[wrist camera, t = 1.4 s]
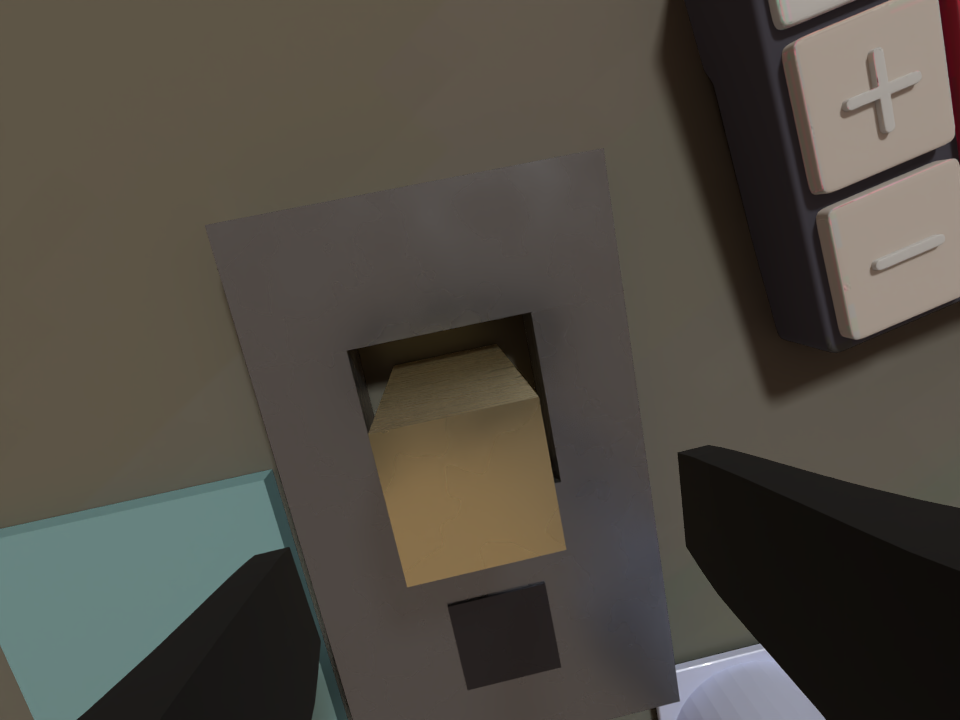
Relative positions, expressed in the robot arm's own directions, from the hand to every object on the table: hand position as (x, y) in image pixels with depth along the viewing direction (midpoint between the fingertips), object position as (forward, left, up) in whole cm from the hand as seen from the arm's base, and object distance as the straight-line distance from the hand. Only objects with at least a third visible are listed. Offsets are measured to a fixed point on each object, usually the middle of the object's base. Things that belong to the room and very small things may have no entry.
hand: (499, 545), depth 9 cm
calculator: (+8, -17, -11) cm, 22 cm away
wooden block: (0, 0, -11) cm, 11 cm away
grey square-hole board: (-3, 0, -11) cm, 11 cm away
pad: (-7, +13, -11) cm, 19 cm away
